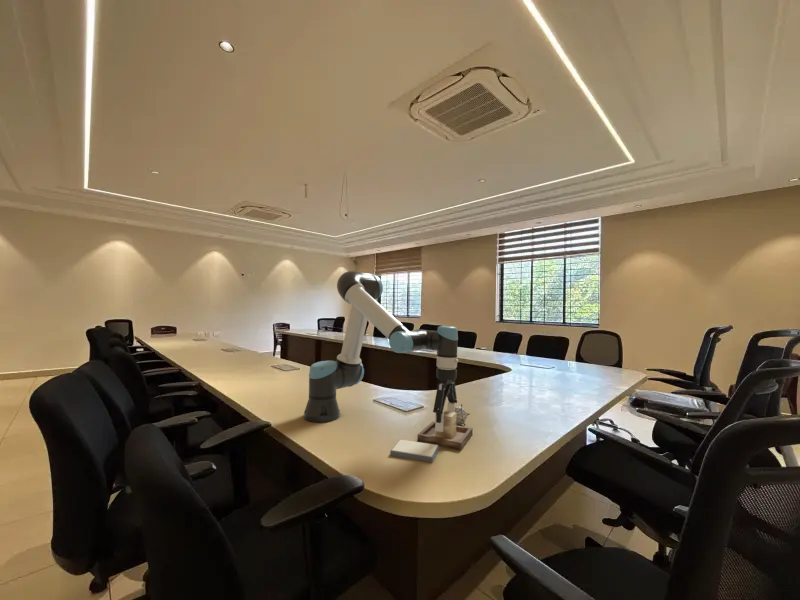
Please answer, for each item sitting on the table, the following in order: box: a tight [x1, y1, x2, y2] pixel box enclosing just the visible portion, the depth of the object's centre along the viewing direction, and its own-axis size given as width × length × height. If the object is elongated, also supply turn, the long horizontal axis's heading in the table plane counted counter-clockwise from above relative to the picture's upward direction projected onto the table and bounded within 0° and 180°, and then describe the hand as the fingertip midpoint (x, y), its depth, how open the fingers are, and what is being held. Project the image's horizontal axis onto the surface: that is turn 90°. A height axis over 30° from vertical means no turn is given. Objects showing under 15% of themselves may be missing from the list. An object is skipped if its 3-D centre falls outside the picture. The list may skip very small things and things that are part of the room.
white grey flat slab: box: [389, 439, 440, 463], centre depth 111 cm, size 14×10×2 cm
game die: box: [455, 404, 471, 426], centre depth 138 cm, size 9×8×10 cm
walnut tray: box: [416, 420, 474, 451], centre depth 124 cm, size 16×16×2 cm
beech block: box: [436, 410, 457, 440], centre depth 124 cm, size 6×6×8 cm
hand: (445, 425), depth 124 cm, fingers open, 13 cm apart
